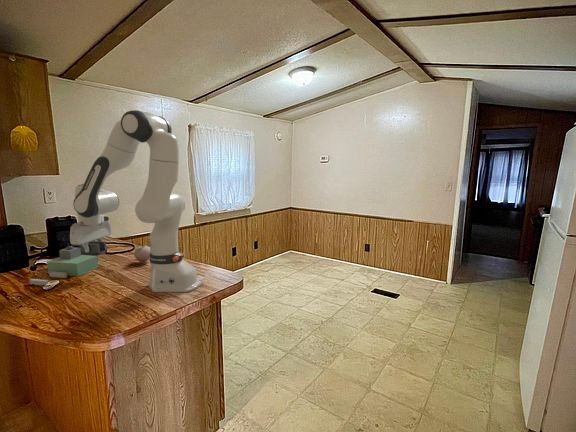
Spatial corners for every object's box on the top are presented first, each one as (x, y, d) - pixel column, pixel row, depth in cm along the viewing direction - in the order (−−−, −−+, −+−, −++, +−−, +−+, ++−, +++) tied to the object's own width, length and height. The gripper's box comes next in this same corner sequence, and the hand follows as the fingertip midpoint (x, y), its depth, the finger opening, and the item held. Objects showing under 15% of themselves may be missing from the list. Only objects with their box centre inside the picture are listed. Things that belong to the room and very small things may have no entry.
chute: (89, 251, 145) (88, 241, 144) (107, 252, 143) (105, 241, 142) (81, 254, 140) (79, 244, 139) (98, 255, 138) (97, 244, 138)
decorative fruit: (149, 265, 159) (148, 246, 158) (132, 265, 158) (131, 246, 156) (155, 259, 168) (153, 241, 167) (139, 259, 167) (137, 241, 166)
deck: (98, 267, 155) (96, 245, 153) (54, 286, 131) (51, 260, 129) (70, 265, 157) (67, 243, 155) (22, 283, 134) (18, 258, 132)
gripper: (76, 224, 128) (81, 256, 131) (112, 216, 148) (115, 244, 151) (63, 224, 130) (68, 256, 132) (100, 216, 149) (104, 244, 152)
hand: (93, 250), depth 141 cm, fingers closed on chute, 5 cm apart
